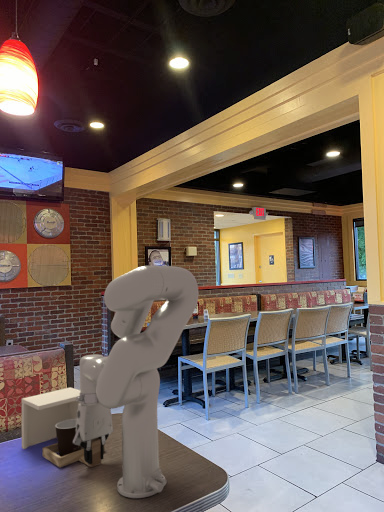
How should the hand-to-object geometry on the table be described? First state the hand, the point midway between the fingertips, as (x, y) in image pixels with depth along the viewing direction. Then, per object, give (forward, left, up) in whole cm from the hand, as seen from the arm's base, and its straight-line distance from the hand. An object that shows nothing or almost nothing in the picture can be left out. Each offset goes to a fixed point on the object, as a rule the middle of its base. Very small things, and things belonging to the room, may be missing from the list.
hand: (94, 459), depth 110 cm
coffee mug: (+12, 0, -2) cm, 12 cm away
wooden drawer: (+9, 0, -1) cm, 9 cm away
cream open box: (+25, 0, -2) cm, 25 cm away
